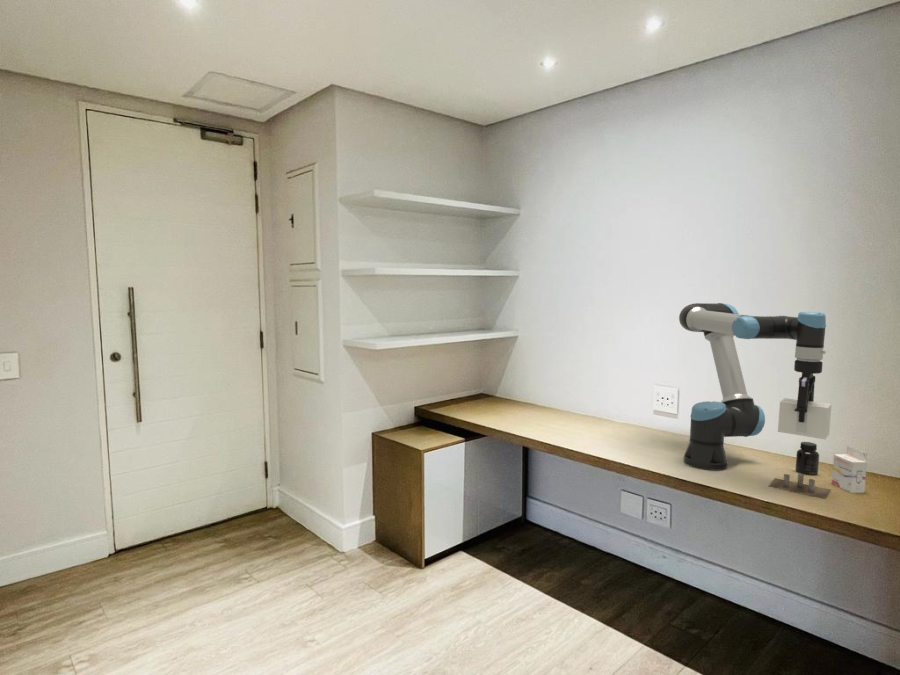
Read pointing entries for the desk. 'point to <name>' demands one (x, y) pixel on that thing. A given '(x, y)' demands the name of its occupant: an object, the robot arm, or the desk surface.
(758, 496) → the desk surface
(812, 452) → the supplement bottle
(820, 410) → the block
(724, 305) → the robot arm
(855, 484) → the ink cartridge box
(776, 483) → the pin board
